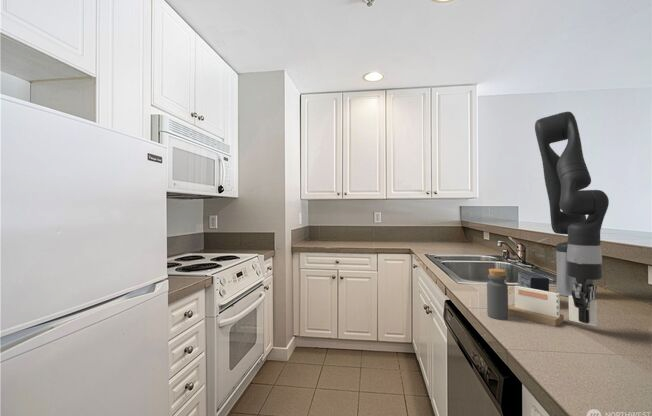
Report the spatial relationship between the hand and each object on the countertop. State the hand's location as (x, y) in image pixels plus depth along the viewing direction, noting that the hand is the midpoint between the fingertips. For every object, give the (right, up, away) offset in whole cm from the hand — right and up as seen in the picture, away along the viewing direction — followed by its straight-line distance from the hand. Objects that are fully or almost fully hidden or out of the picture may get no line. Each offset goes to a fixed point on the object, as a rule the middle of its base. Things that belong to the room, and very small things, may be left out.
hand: (584, 321), depth 84 cm
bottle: (-18, -3, +12) cm, 22 cm away
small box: (+3, -3, +25) cm, 26 cm away
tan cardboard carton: (-7, -3, +10) cm, 12 cm away
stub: (0, -1, 0) cm, 1 cm away
